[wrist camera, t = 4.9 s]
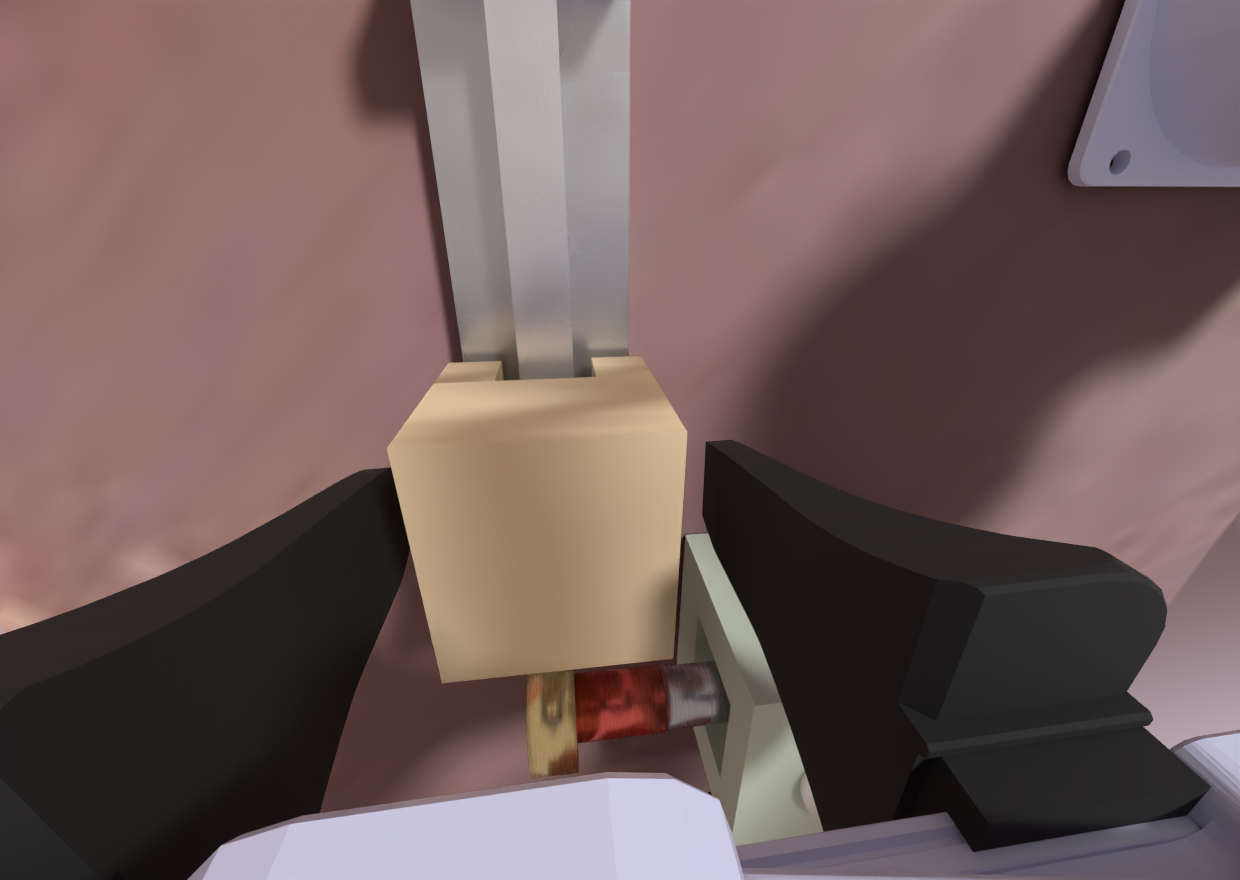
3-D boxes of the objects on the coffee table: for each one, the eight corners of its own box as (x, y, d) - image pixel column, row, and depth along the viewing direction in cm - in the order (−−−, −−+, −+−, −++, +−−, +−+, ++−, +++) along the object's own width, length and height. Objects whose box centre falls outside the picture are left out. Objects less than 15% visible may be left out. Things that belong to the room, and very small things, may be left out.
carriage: (641, 356, 12) (687, 431, 7) (638, 527, 14) (673, 658, 10) (448, 362, 11) (386, 448, 7) (476, 539, 13) (441, 683, 9)
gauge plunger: (755, 608, 15) (800, 696, 12) (744, 676, 16) (783, 770, 13) (530, 629, 14) (524, 729, 11) (538, 699, 15) (534, 803, 12)
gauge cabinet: (859, 521, 16) (1023, 687, 10) (826, 648, 19) (944, 837, 13) (685, 535, 15) (760, 719, 10) (676, 665, 18) (732, 871, 12)
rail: (624, -83, 9) (651, -197, 7) (624, 564, 16) (637, 631, 13) (405, -98, 9) (343, -225, 6) (500, 575, 15) (489, 645, 13)
